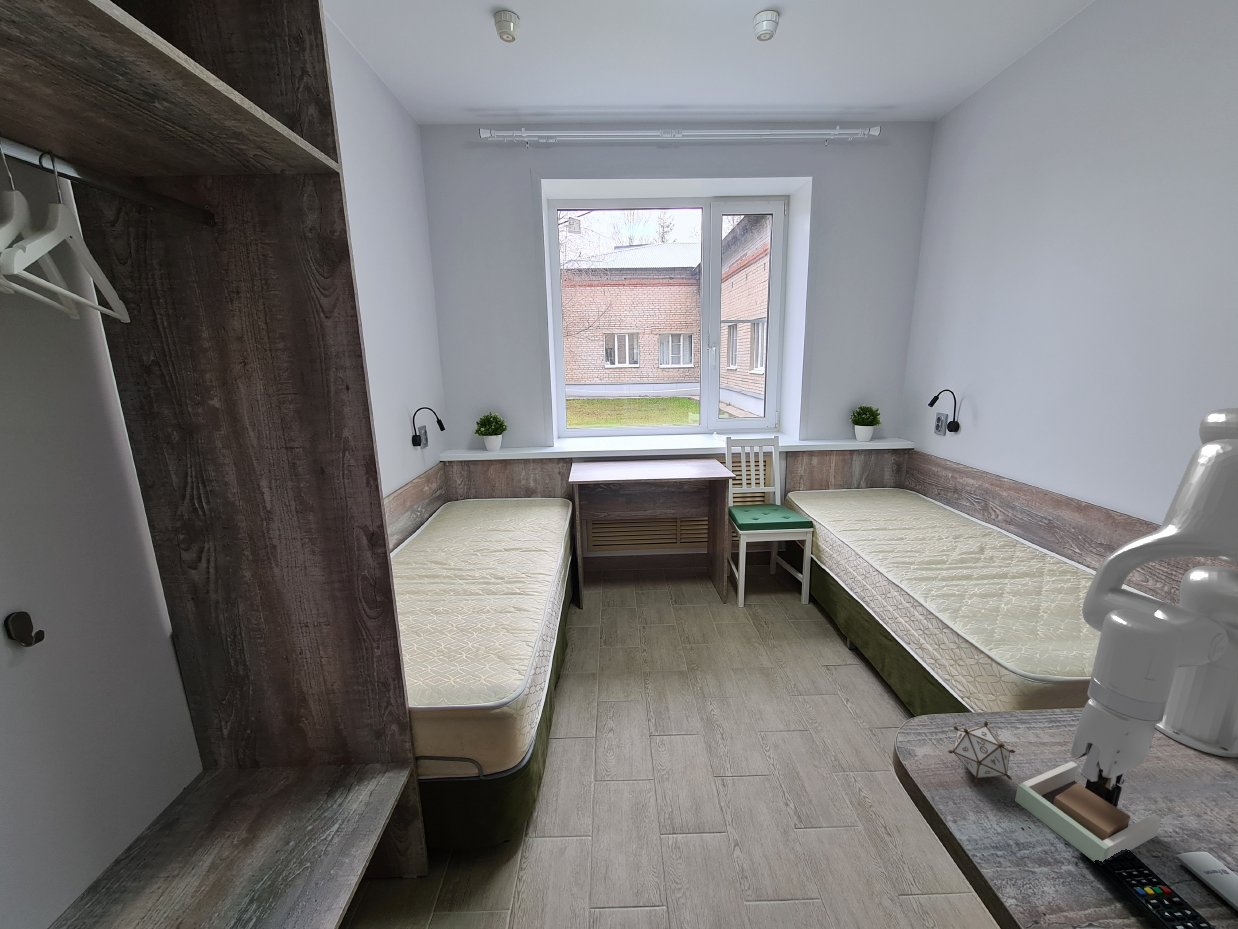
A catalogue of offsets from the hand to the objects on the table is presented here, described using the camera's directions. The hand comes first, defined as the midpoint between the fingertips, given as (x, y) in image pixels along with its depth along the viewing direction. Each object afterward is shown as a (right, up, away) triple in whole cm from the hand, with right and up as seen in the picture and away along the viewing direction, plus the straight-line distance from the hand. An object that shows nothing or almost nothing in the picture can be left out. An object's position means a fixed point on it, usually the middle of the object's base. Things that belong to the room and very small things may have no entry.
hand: (1099, 802), depth 72 cm
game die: (-13, 0, +7) cm, 15 cm away
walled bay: (-3, -2, -1) cm, 3 cm away
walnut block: (-4, -2, -2) cm, 5 cm away
